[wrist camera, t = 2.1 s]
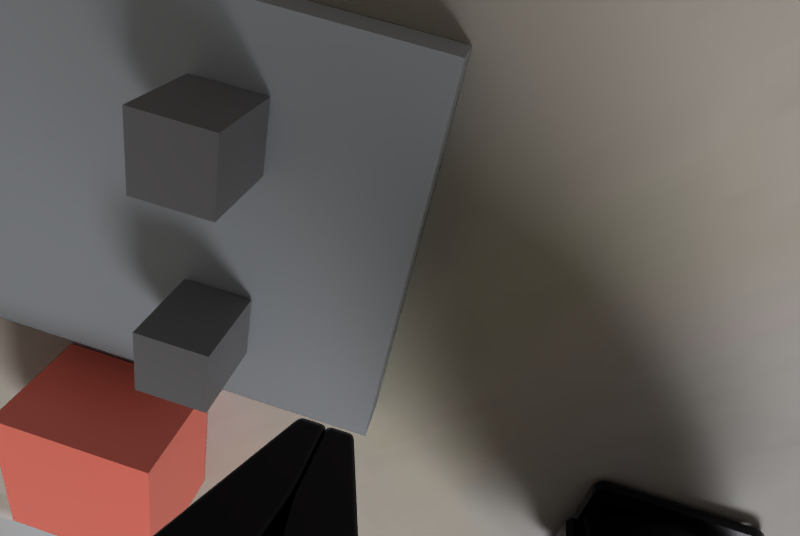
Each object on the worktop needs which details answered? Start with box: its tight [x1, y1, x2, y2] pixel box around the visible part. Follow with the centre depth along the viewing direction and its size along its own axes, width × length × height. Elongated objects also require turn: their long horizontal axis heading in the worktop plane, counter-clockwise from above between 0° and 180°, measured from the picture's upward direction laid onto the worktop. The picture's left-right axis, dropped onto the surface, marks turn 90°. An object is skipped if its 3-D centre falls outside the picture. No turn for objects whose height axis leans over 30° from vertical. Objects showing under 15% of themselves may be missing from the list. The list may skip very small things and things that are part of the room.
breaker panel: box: [0, 0, 472, 436], centre depth 20 cm, size 18×14×2 cm
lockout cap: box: [0, 344, 208, 536], centre depth 26 cm, size 6×6×4 cm
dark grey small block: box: [132, 279, 252, 413], centre depth 20 cm, size 2×2×3 cm
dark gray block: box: [122, 73, 270, 222], centre depth 16 cm, size 2×2×3 cm
